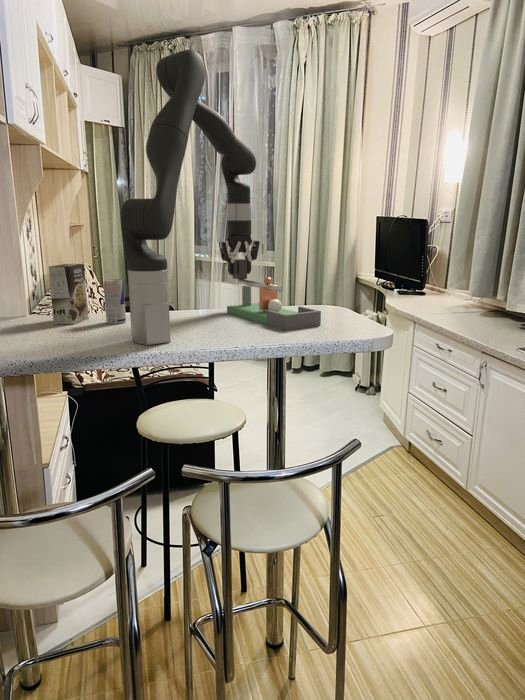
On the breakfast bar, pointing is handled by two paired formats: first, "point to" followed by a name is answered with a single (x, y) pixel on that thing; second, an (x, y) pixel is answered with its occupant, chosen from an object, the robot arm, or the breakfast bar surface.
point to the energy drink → (114, 301)
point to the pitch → (275, 314)
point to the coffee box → (68, 293)
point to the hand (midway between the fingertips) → (239, 274)
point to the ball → (275, 305)
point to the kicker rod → (256, 284)
